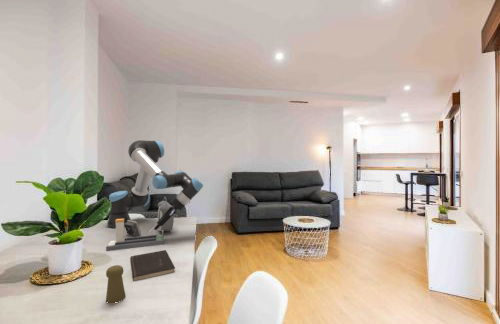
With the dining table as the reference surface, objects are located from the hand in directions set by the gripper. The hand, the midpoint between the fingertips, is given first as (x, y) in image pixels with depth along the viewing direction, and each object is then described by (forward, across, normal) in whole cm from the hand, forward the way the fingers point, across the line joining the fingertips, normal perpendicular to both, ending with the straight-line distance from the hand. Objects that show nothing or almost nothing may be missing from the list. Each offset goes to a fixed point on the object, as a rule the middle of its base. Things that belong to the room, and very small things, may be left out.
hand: (150, 233), depth 143 cm
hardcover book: (+3, -32, -6) cm, 32 cm away
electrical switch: (+12, +18, +4) cm, 22 cm away
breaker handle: (+13, 0, +9) cm, 16 cm away
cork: (+10, -56, +2) cm, 57 cm away
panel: (+9, 0, +1) cm, 9 cm away
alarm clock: (-2, +19, -9) cm, 21 cm away
